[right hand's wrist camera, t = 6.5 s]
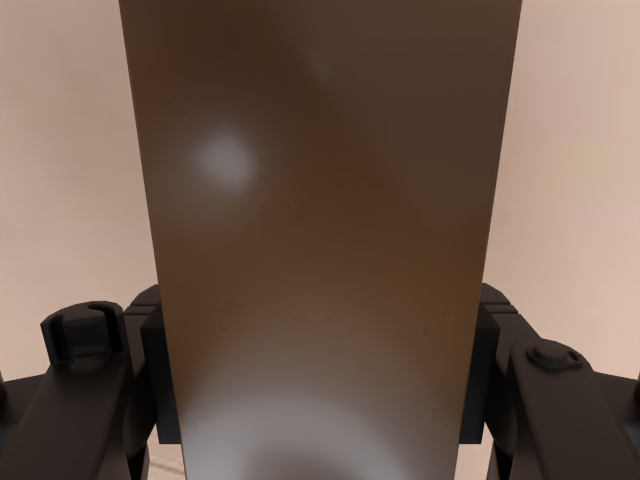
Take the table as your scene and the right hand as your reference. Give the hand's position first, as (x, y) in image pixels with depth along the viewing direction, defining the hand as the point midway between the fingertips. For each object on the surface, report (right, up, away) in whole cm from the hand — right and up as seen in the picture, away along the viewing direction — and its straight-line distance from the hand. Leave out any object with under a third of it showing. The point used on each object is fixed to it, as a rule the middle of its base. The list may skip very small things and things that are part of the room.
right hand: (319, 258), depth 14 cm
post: (0, -17, +7) cm, 18 cm away
